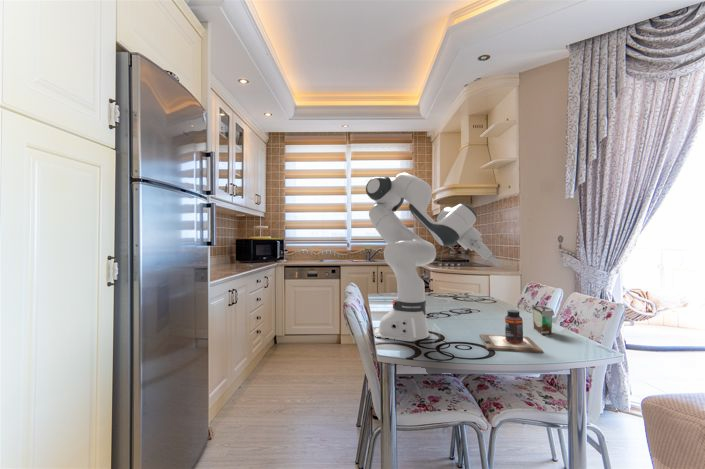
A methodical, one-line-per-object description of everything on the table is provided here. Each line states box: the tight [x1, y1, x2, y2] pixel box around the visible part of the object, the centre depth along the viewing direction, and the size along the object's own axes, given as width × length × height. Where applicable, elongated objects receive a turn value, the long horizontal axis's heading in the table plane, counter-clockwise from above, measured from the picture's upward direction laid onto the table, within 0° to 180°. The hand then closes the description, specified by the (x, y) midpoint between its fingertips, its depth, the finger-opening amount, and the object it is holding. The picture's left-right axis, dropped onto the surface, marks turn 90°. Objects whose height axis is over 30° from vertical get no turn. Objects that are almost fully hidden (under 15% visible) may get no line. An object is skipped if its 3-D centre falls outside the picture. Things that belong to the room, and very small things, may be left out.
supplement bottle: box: [504, 309, 524, 343], centre depth 120 cm, size 6×6×11 cm
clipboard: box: [479, 333, 544, 354], centre depth 120 cm, size 18×16×2 cm
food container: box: [531, 305, 555, 336], centre depth 135 cm, size 12×6×10 cm, turn 168°
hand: (497, 264), depth 126 cm, fingers open, 8 cm apart
